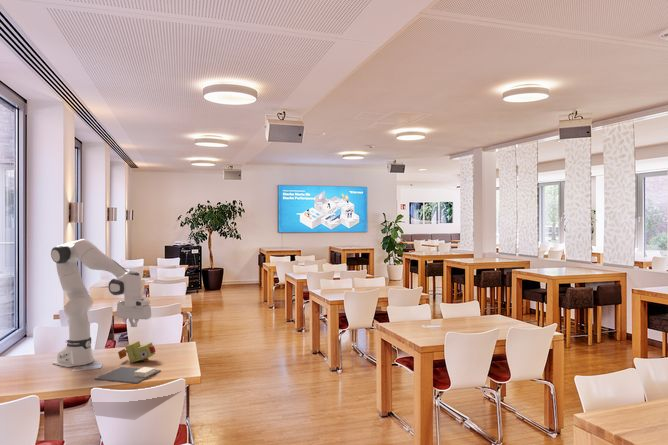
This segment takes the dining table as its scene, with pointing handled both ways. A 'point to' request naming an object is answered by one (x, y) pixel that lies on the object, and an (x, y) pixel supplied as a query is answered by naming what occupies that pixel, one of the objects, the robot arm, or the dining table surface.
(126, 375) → the mat
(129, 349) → the toy
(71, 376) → the dining table surface
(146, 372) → the cream tile
